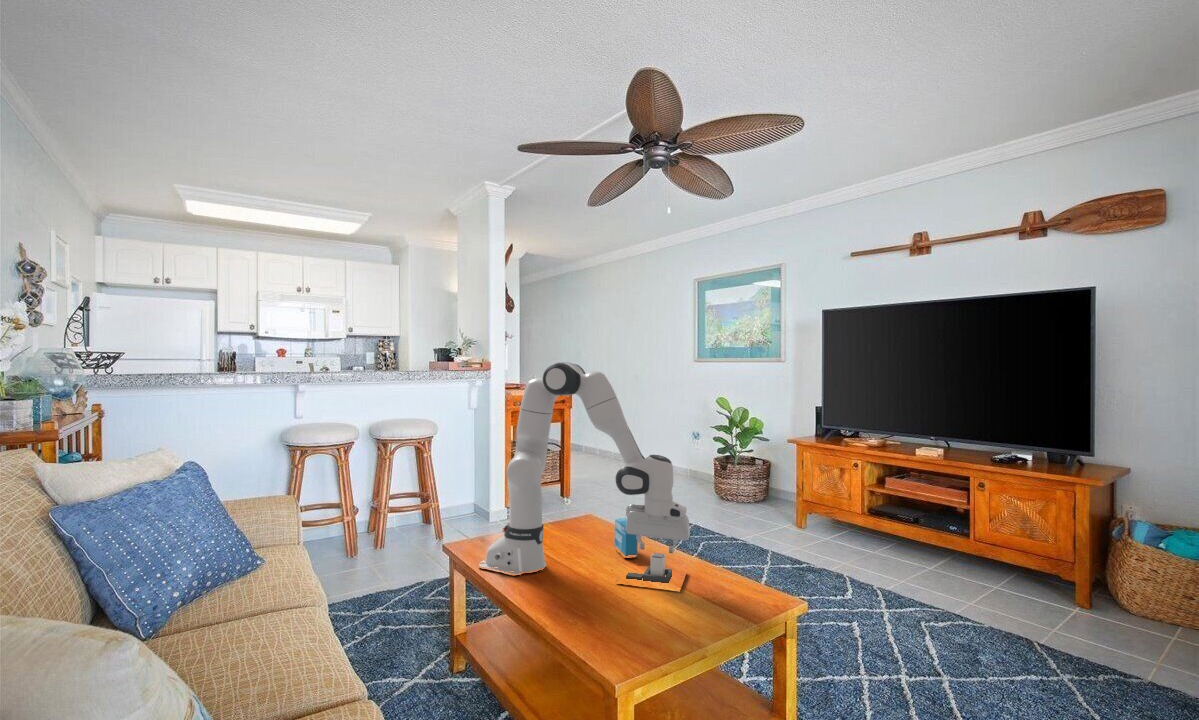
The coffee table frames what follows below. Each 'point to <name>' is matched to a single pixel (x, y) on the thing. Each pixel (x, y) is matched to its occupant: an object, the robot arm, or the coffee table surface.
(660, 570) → the plug
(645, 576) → the board
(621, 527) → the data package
